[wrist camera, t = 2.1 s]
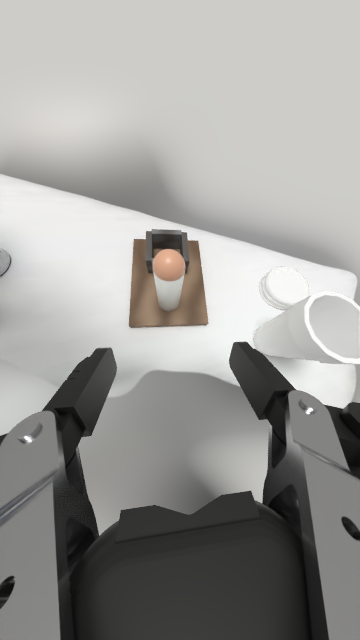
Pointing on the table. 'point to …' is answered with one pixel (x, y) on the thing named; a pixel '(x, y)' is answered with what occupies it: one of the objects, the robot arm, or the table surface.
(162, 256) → the orange-capped post
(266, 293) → the coaster
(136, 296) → the jig board
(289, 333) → the foam cup
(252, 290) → the table surface
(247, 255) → the table surface
